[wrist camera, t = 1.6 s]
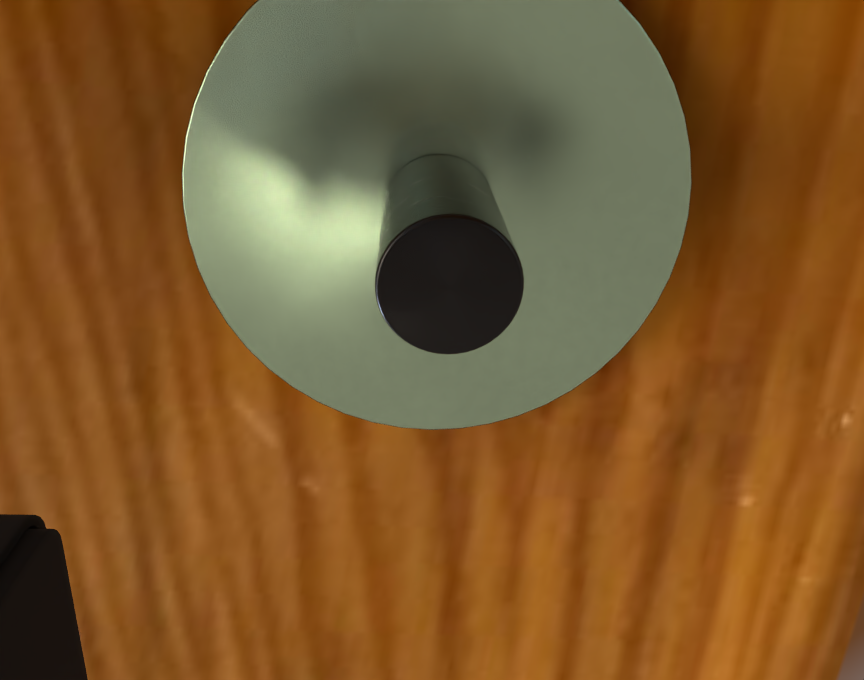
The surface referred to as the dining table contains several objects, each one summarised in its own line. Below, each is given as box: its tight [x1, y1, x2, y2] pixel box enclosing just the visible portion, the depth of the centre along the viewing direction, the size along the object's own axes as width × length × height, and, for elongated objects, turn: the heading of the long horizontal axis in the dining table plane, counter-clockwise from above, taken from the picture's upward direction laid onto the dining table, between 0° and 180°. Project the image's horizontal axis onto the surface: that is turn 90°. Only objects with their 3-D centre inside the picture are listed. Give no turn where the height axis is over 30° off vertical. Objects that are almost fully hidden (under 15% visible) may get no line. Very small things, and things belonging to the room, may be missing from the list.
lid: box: [182, 0, 692, 430], centre depth 19 cm, size 14×14×7 cm
